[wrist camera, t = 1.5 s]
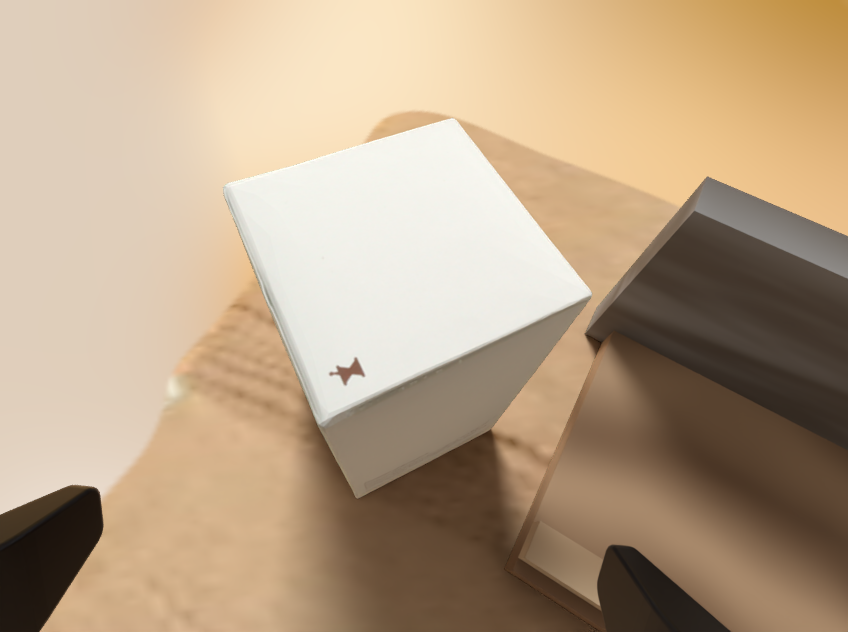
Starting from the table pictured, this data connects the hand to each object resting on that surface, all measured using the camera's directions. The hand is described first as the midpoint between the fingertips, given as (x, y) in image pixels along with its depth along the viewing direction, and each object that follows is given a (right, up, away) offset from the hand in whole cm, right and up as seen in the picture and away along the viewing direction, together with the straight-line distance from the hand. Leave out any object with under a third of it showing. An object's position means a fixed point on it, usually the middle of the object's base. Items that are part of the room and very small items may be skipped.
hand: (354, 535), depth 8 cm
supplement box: (0, 0, +14) cm, 14 cm away
